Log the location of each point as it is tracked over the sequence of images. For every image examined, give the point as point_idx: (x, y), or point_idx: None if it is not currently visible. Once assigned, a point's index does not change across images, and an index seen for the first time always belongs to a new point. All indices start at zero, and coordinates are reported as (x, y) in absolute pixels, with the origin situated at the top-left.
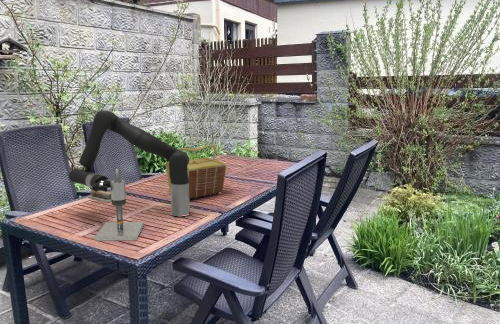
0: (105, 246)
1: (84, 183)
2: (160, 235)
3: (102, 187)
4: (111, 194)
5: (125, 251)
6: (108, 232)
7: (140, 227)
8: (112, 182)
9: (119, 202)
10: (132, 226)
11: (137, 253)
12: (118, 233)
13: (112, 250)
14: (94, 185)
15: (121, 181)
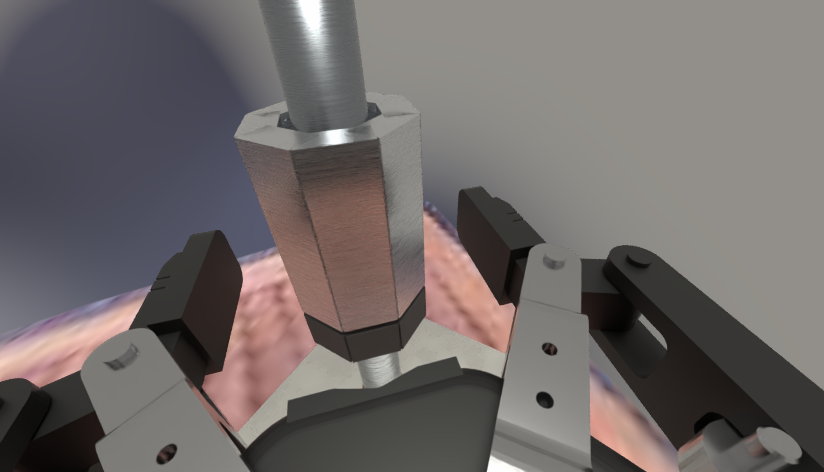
0: (488, 303)
1: None
2: (272, 304)
3: (518, 226)
4: (422, 241)
5: (434, 248)
6: None
7: (293, 373)
8: (402, 106)
9: None
10: None
11: None
12: (419, 349)
13: (469, 267)
14: (693, 305)
15: (280, 125)
